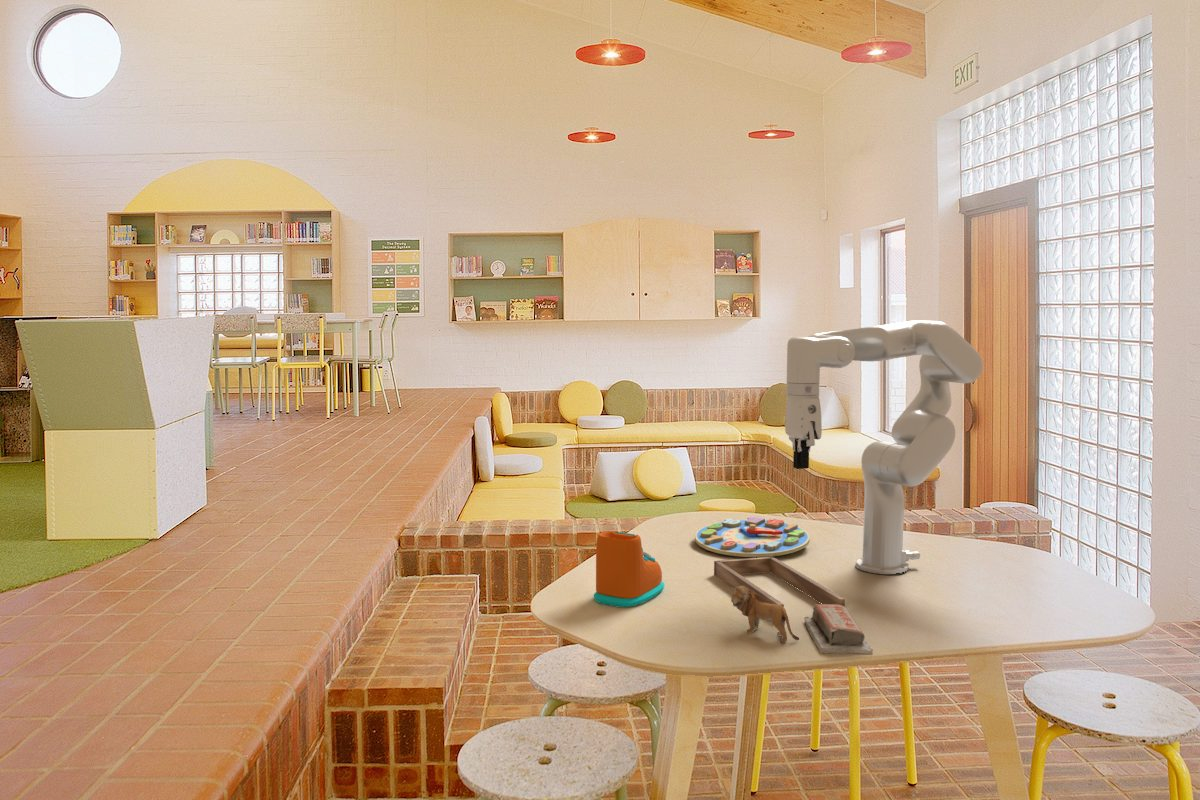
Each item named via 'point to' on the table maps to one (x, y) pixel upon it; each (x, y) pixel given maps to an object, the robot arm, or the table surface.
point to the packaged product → (836, 630)
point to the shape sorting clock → (752, 537)
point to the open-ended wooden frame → (734, 568)
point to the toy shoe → (625, 571)
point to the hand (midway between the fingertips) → (800, 467)
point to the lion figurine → (761, 611)
